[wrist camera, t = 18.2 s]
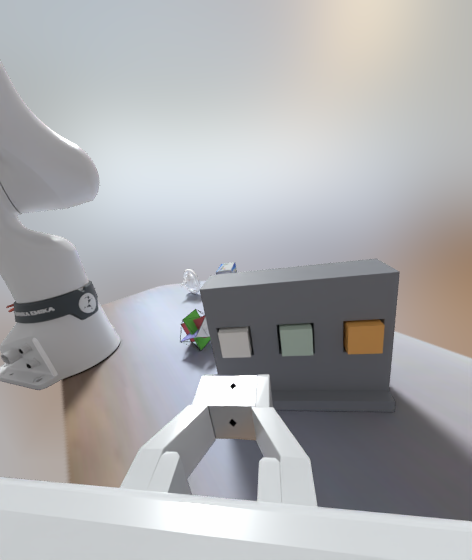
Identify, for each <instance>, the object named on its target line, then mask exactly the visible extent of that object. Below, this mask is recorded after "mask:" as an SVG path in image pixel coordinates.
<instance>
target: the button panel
mask: <svg viewBox="0 0 472 560" xmlns="http://www.w3.org/2000/svg"><path fill="white" fill-rule="evenodd" d="M398 284H399V271H397V270H395V269H394V268H392V267H390V266H388V265H386V264H385V263H383V262H381V261H379V260H378V259H369V260H358V261H348V262H338V263H328V264H318V265H309V266H298V267H288V268H278V269H268V270H259V271H249V272H238V273H228V274H218V275H211V276H210V277H209V278H208V280H207V281H206V282H205V283H204V285H203V286H202V287H201V289H200V293H201V298H202V302H203V307H204V312H205V316H206V321H207V326H208V330H209V335H210V340H211V344H212V349H213V354H214V358H215V363H216V367H217V372H218V375H261V374H269V375H270V382H271V392H272V405H273V408H274V409H275V410H293V411H367V412H395V403H396V401H395V400H394V398H393V397H392V395H391V393H390V392H389V383H390V372H391V361H392V350H393V339H394V328H395V316H396V305H397V295H398ZM372 319H379V320H380V321H381V322H382V323H383V324H384V325H385V327H384V341H383V353H380V354H348V353H347V351H346V349H345V347H344V345H343V321H354V320H372ZM300 323H310V324H311V327H312V336H313V355H310V356H282V349H281V338H280V328H279V325H281V324H300ZM245 326H250V330H251V337H252V352H251V357H241V358H223V357H222V352H221V347H220V342H219V337H218V332H219V329H220V328H227V327H245Z"/></svg>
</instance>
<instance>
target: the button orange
mask: <svg viewBox="0 0 472 560" xmlns="http://www.w3.org/2000/svg"><path fill="white" fill-rule="evenodd" d="M384 327H385V325H384V324H383V323H382V322H381V321H380V320H379V319H372V320H354V321H343V345H344V347H345V349H346V351H347V353H348V354H380V353H383V341H384Z"/></svg>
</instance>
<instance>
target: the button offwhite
mask: <svg viewBox="0 0 472 560" xmlns="http://www.w3.org/2000/svg"><path fill="white" fill-rule="evenodd" d="M218 337H219V342H220V347H221V352H222V357H223V358H241V357H251V352H252V337H251V330H250V326H245V327H227V328H220V329H219V332H218Z"/></svg>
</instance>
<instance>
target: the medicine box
mask: <svg viewBox="0 0 472 560" xmlns="http://www.w3.org/2000/svg"><path fill="white" fill-rule="evenodd" d="M228 273H237V270H236V265H235V263H225V264H221V266H220V267H219V269H218V270H217V271H216V275H218V274H228Z"/></svg>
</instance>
